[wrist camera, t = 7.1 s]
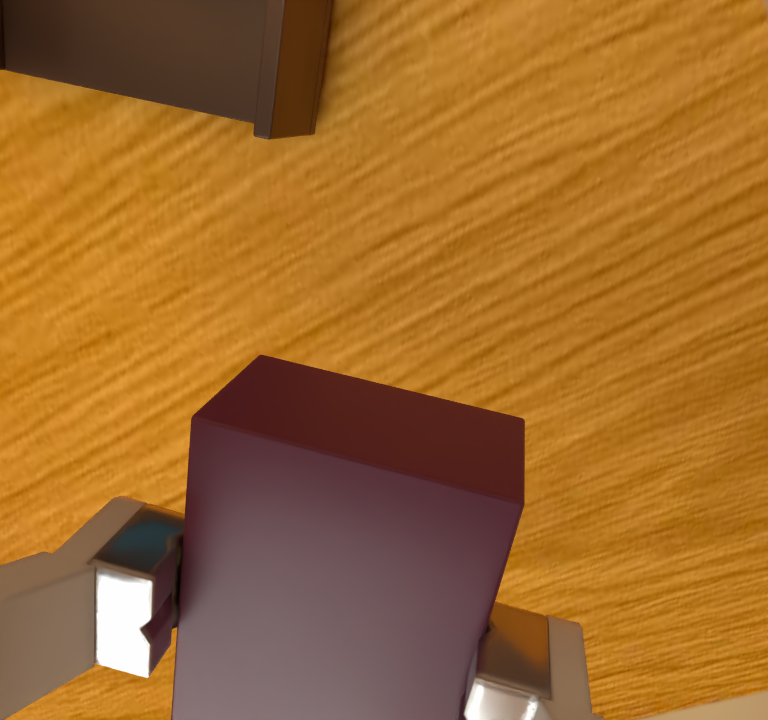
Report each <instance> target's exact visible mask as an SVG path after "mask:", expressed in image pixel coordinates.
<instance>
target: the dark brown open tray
mask: <svg viewBox="0 0 768 720" xmlns="http://www.w3.org/2000/svg"><path fill="white" fill-rule="evenodd" d="M332 1H333V0H0V70H7V71H12V72H16V73H21V74H26V75H30V76H35V77H40V78H44V79H49V80H54V81H58V82H63V83H68V84H72V85H77V86H82V87H86V88H91V89H96V90H100V91H105V92H110V93H114V94H119V95H124V96H128V97H133V98H138V99H143V100H147V101H152V102H157V103H161V104H166V105H171V106H175V107H180V108H185V109H189V110H194V111H199V112H203V113H208V114H213V115H217V116H222V117H227V118H231V119H236V120H241V121H245V122H250V123H255V124H254V136H255V137H260V138H264V139H278V138H286V137H295V136H304V135H314V134H315V127H316V119H317V112H318V104H319V97H320V90H321V82H322V75H323V67H324V60H325V52H326V45H327V38H328V30H329V23H330V15H331V8H332Z"/></svg>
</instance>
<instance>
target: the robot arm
mask: <svg viewBox="0 0 768 720" xmlns="http://www.w3.org/2000/svg"><path fill="white" fill-rule="evenodd" d="M184 522H185V514H182V513H179V512H176V511H173V510H169V509H166V508H163V507H160V506H156V505H153V504H147V503H145V502H141V501H138V500H135V499H132V498H128V497H125V496H119V497H115V498H113V499H112V500H111V501H109V502H108V503H107V504H106V505H105V506H104V507H103V508H102V509H101V510H100V511H99V512H98V513H96V514H95V515H94V516H93V517H92V518H91V519H90V520H89V521H88V522H87V523H86V524H85V525H83V526H82V527H81V528H80V529H79V530H78V531H77V532H76V533H75V534H74V535H73V536H72V537H70V538H69V539H68V540H67V541H66V542H65V543H64V544H63V545H62V546H61V547H60V548H59V549H58V550H56V551H55V552H54V553H53V554H51V553H47V552H41V553H38V554H35V555H32V556H29V557H26V558H23V559H19V560H16V561H13V562H10V563H7V564H4V565H1V566H0V720H4V719H6V718H7V717H9V716H11V715H12V714H14V713H16V712H17V711H19V710H21V709H23V708H24V707H26V706H28V705H29V704H31V703H33V702H34V701H36V700H38V699H40V698H41V697H43V696H45V695H46V694H48V693H50V692H51V691H53V690H55V689H57V688H58V687H60V686H62V685H63V684H65V683H67V682H68V681H70V680H72V679H74V678H75V677H77V676H79V675H80V674H82V673H84V672H85V671H87V670H89V669H91V668H92V667H94V663H96V664H99V665H103V666H106V667H110V668H113V669H117V670H121V671H124V672H128V673H131V674H135V675H138V676H142V677H145V678H148V677H149V676H150V674H151V673H152V671H153V670H154V668H155V667H156V665H157V664H158V662H159V661H160V659H161V658H162V656H163V655H164V653H165V652H166V651H167V649H168V648H169V646H170V645H171V632H172V629H173V628H176V627H177V626H178V611H179V596H180V581H181V566H182V551H183V536H184ZM455 720H605V719H604V718H603V717H602V716H599V715H596V714H592V706H591V698H590V689H589V681H588V672H587V664H586V655H585V646H584V638H583V629H582V627H581V626H580V624H579V623H577V622H573V621H569V620H565V619H561V618H557V617H553V616H549V615H546V616H545V615H542V614H538V613H535V612H531V611H528V610H524V609H520V608H517V607H513V606H509V605H506V604H502V603H498V602H495V603H494V606H493V609H492V613H491V616H490V619H489V623H488V626H487V629H486V632H485V635H484V636H482V637H481V638H480V639H479V640H478V643H477V647H476V650H475V653H474V656H473V659H472V663H471V666H470V669H469V672H468V678H467V688H466V691H465V693H464V694H463V696H462V697H461V699H460V702H459V706H458V709H457V713H456V716H455Z"/></svg>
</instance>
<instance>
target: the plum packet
mask: <svg viewBox="0 0 768 720" xmlns="http://www.w3.org/2000/svg"><path fill="white" fill-rule="evenodd" d="M524 473H525V421H524V419H522V418H519V417H515V416H511V415H507V414H503V413H499V412H494V411H490V410H486V409H482V408H478V407H474V406H470V405H466V404H462V403H457V402H453V401H449V400H445V399H441V398H437V397H433V396H429V395H425V394H421V393H416V392H412V391H408V390H404V389H400V388H396V387H392V386H388V385H384V384H379V383H375V382H371V381H367V380H363V379H359V378H355V377H351V376H347V375H343V374H338V373H334V372H330V371H326V370H322V369H318V368H314V367H310V366H306V365H301V364H297V363H293V362H289V361H285V360H281V359H277V358H273V357H269V356H265V355H259V356H258V357H257V358H256V359H255V360H253V361H252V362H251V363H250V364H249V365H248V366H247V367H246V368H245V369H244V370H242V371H241V372H240V373H239V374H238V375H237V376H236V377H235V378H234V379H233V380H231V381H230V382H229V383H228V384H227V385H226V386H225V387H224V388H223V389H222V390H220V391H219V392H218V393H217V394H216V395H215V396H214V397H213V398H212V399H211V400H209V401H208V402H207V403H206V404H205V405H204V406H203V407H202V408H201V409H200V410H198V411H197V412H196V413H195V414H194V415H193V416H192V419H191V432H190V447H189V462H188V477H187V492H186V507H185V522H184V536H183V551H182V566H181V581H180V596H179V611H178V626H177V641H176V655H175V670H174V685H173V700H172V715H171V720H455V716H456V713H457V709H458V706H459V702H460V699H461V697H462V696H463V694H464V693H465V691H466V688H467V678H468V672H469V669H470V666H471V663H472V659H473V656H474V653H475V650H476V647H477V643H478V640H479V639H480V638H481V637H482V636H484V635H485V632H486V629H487V626H488V623H489V619H490V616H491V613H492V609H493V606H494V603H495V600H496V596H497V593H498V590H499V586H500V583H501V580H502V577H503V573H504V570H505V567H506V563H507V560H508V557H509V553H510V550H511V547H512V544H513V540H514V537H515V534H516V530H517V527H518V524H519V520H520V517H521V514H522V511H523V507H524Z"/></svg>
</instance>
